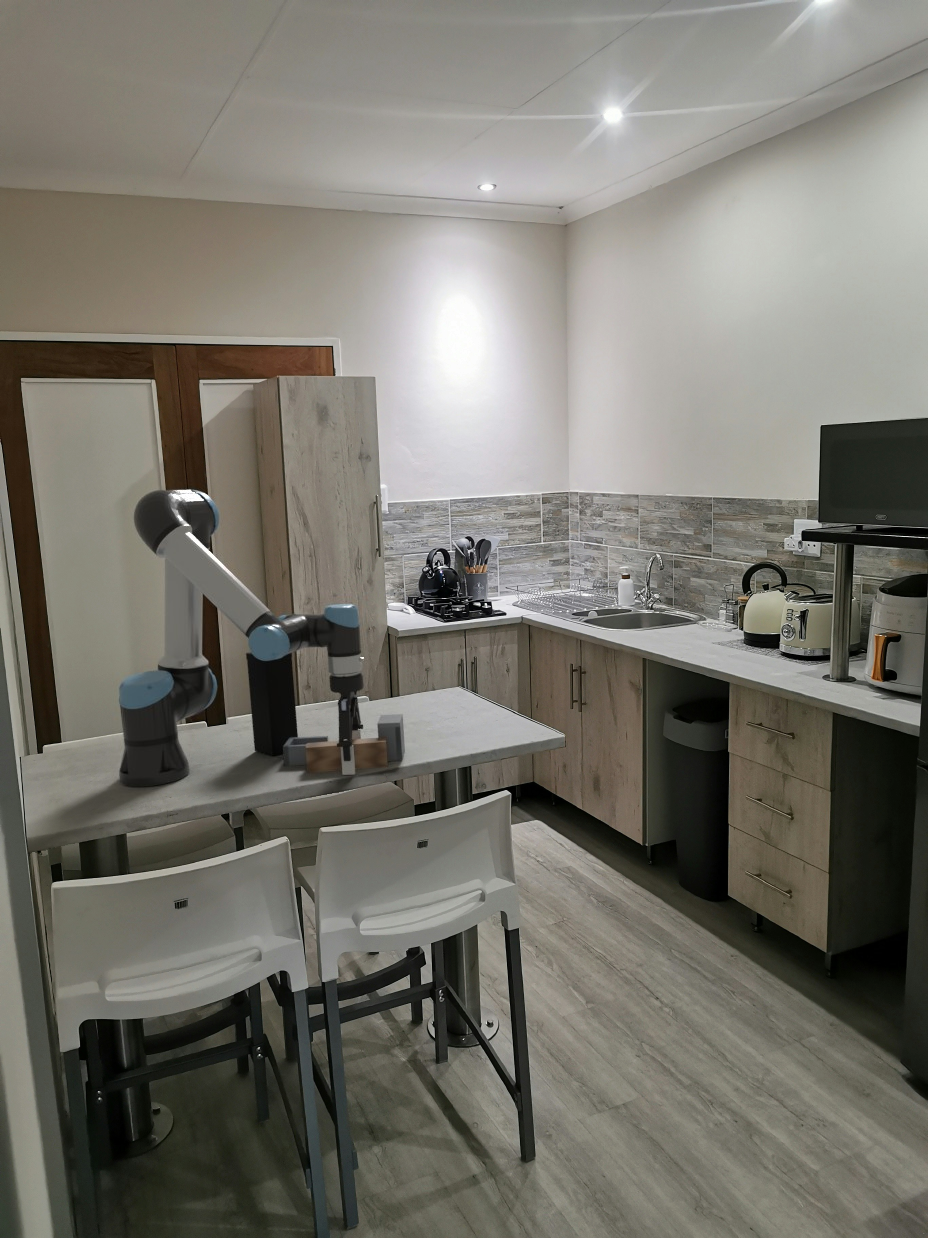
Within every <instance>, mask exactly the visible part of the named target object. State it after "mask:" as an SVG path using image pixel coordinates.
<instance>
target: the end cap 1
mask: <svg viewBox="0 0 928 1238" xmlns="http://www.w3.org/2000/svg"><path fill="white" fill-rule="evenodd" d="M328 741H329V735H321V736H319V735H318V736H298V737H293V738H289V739H288V741H287V742H286V743H285V745H284V746H283V753H282V755H283V764H284V767H287V766H307V759H306V744H307V743H316V742H328Z"/></svg>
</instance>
